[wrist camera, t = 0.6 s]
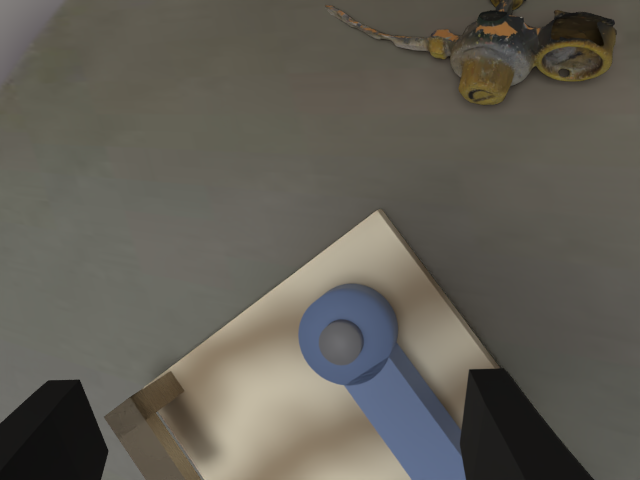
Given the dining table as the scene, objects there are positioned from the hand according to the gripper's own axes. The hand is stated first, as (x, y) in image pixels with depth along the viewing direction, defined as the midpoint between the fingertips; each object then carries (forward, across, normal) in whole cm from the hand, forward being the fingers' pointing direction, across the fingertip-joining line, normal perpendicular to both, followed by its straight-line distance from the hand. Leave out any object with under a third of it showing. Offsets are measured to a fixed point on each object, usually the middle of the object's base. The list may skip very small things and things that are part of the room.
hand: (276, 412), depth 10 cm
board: (+15, -1, +19) cm, 24 cm away
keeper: (+18, +9, +20) cm, 28 cm away
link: (+13, -5, +16) cm, 22 cm away
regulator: (+23, -8, -2) cm, 24 cm away
